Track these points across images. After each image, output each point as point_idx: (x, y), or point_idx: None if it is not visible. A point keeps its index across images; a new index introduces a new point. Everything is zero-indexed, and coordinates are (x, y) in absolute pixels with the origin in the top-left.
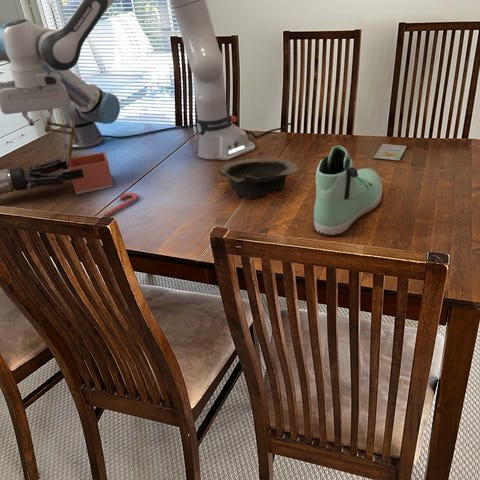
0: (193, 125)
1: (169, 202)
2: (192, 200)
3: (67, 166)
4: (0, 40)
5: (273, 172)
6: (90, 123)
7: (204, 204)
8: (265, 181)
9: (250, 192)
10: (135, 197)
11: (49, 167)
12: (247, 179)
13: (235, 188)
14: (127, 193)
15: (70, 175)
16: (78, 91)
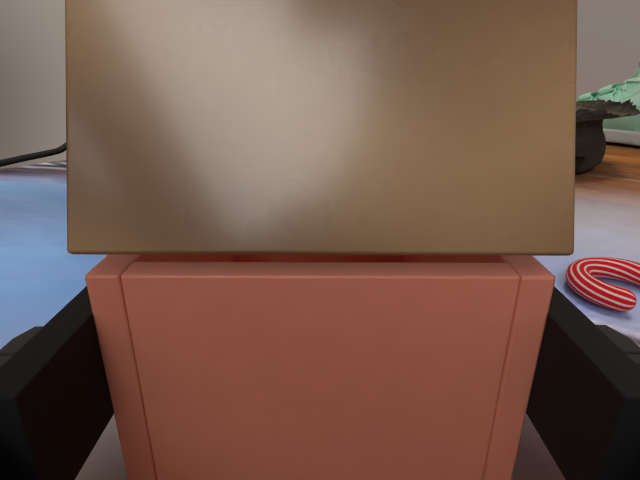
0: (10, 160)
1: (617, 231)
2: (593, 207)
3: (570, 245)
4: None
5: None
6: None
7: (620, 199)
8: (619, 110)
9: (605, 145)
10: (629, 261)
11: None
12: (632, 106)
13: (589, 147)
14: (586, 272)
15: (626, 345)
16: None
